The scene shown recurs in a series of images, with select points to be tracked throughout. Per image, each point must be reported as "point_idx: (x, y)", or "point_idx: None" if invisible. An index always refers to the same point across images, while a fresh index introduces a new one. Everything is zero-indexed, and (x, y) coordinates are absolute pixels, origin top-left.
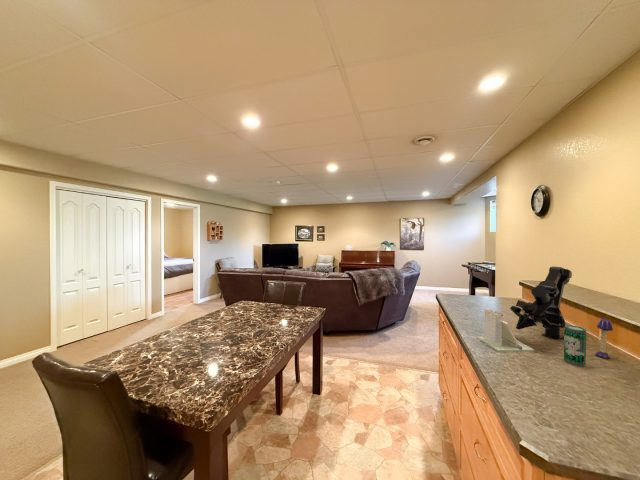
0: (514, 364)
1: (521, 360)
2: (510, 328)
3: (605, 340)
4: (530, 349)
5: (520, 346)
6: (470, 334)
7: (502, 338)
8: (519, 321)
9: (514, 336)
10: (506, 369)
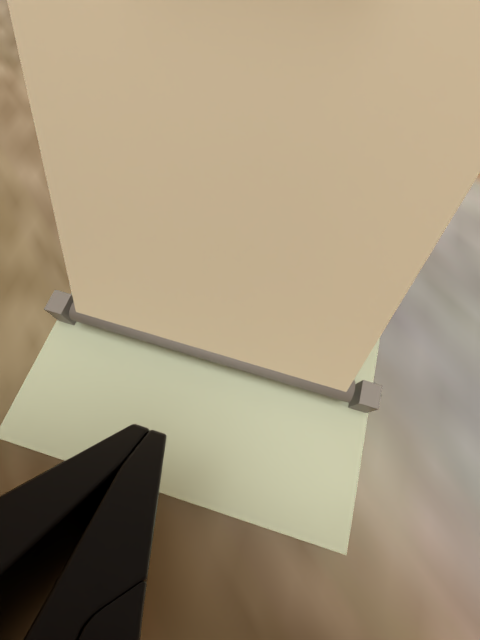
0: (4, 119)
1: (2, 194)
2: (20, 51)
3: None
4: (18, 402)
5: (55, 298)
6: (477, 239)
7: (307, 391)
8: (82, 581)
9: (54, 206)
10: (3, 50)
